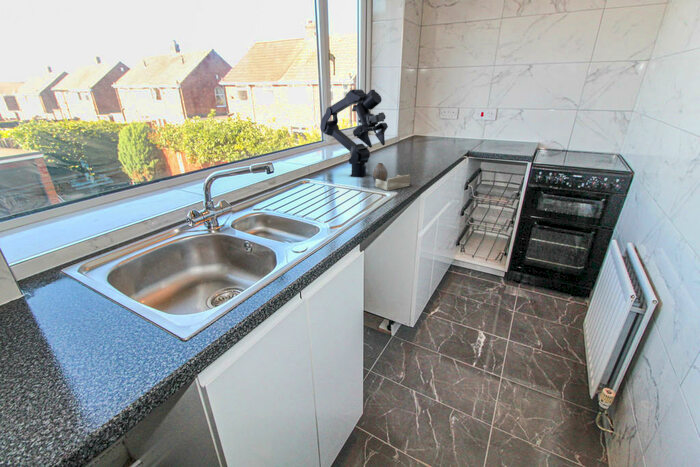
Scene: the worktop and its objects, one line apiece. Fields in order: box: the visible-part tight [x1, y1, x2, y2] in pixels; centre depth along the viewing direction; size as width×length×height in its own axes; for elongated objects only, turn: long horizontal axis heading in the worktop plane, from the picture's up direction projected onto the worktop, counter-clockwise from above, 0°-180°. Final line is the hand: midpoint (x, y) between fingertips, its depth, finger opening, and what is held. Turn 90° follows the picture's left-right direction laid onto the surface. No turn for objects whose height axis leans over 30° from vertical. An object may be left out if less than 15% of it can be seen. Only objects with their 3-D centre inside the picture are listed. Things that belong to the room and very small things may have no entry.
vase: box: [372, 162, 388, 182], centre depth 153 cm, size 7×7×9 cm
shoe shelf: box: [374, 174, 411, 192], centre depth 147 cm, size 8×13×5 cm, turn 126°
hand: (377, 146), depth 152 cm, fingers open, 9 cm apart
